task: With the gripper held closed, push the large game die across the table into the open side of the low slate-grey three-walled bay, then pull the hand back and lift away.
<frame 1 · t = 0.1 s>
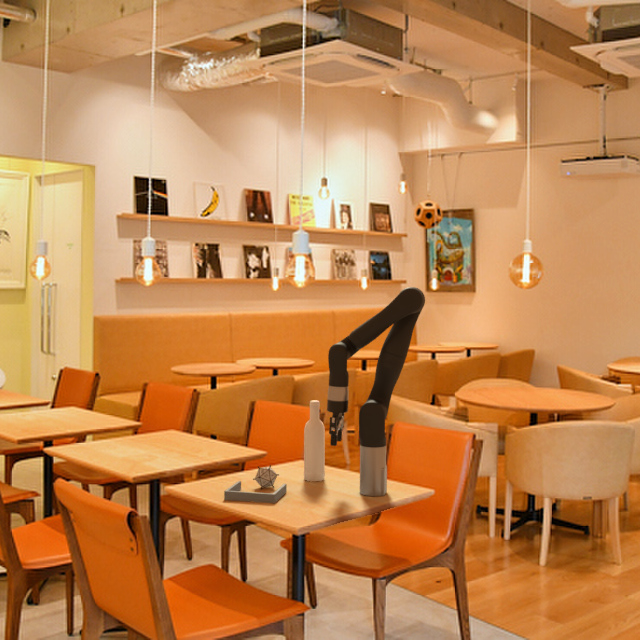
hand: (336, 443, 301), 17 cm above the table, tool pointing down, fingers open, 8 cm apart
game die: (265, 488, 305), on the table
bay: (255, 496, 294), on the table
bottle: (314, 480, 318), on the table
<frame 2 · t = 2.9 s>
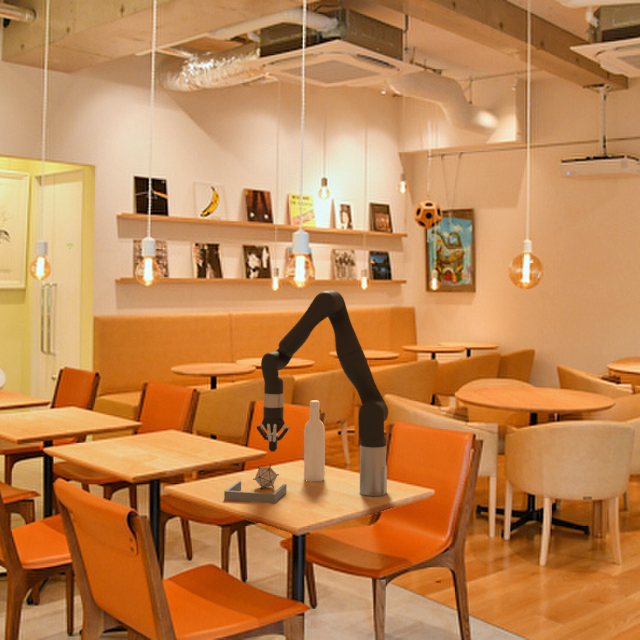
hand: (272, 451, 314), 12 cm above the table, tool pointing down, fingers closed
nothing on the table moved.
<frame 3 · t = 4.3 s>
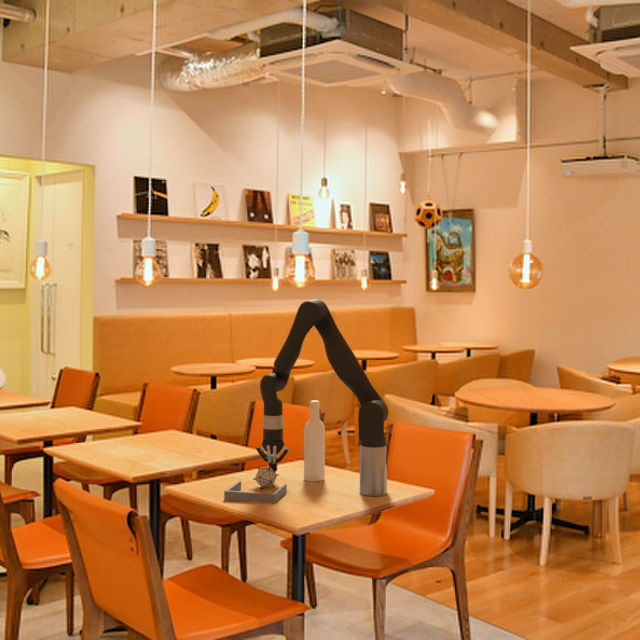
hand: (272, 472, 314), 3 cm above the table, tool pointing down, fingers closed
nothing on the table moved.
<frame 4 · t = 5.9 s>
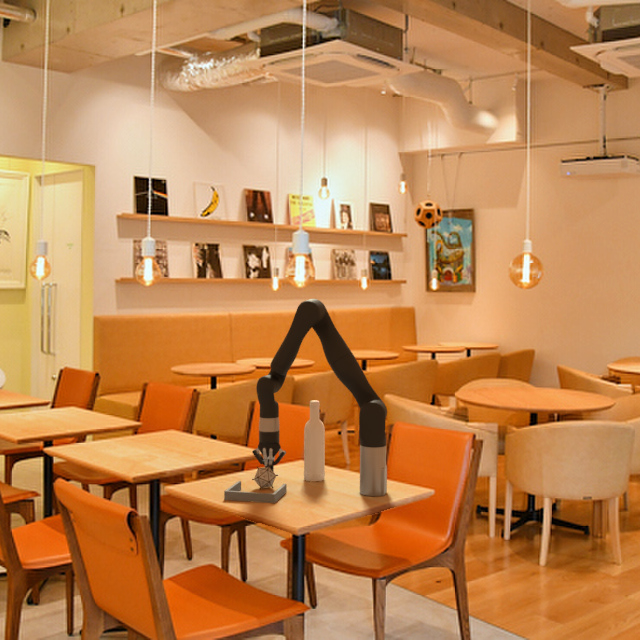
hand: (269, 475, 309), 4 cm above the table, tool pointing down, fingers closed
game die: (265, 488, 305), on the table, touching gripper
everything else where it was.
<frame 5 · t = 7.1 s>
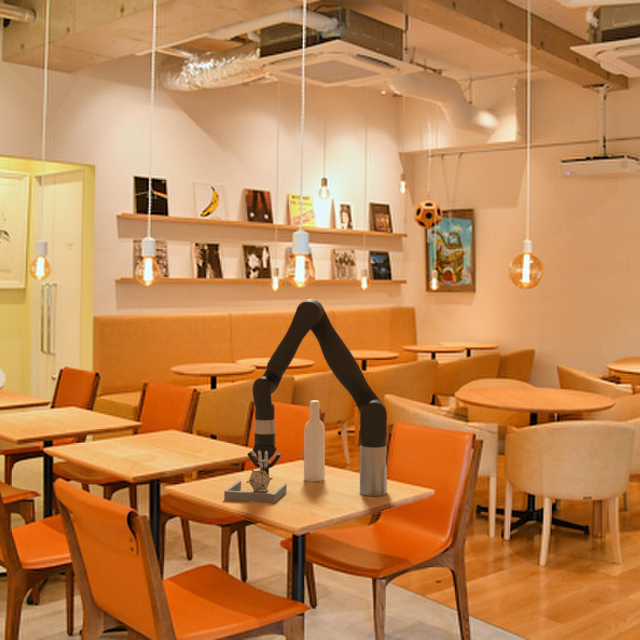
hand: (264, 478, 304), 4 cm above the table, tool pointing down, fingers closed
game die: (259, 491, 300), on the table, touching gripper
everything else where it was.
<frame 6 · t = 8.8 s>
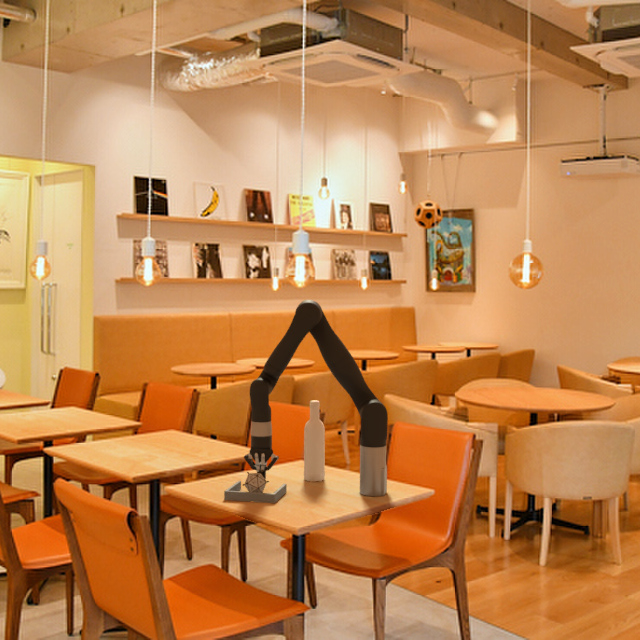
hand: (261, 481, 300), 4 cm above the table, tool pointing down, fingers closed
game die: (255, 495, 296), on the table, touching gripper
everything else where it was.
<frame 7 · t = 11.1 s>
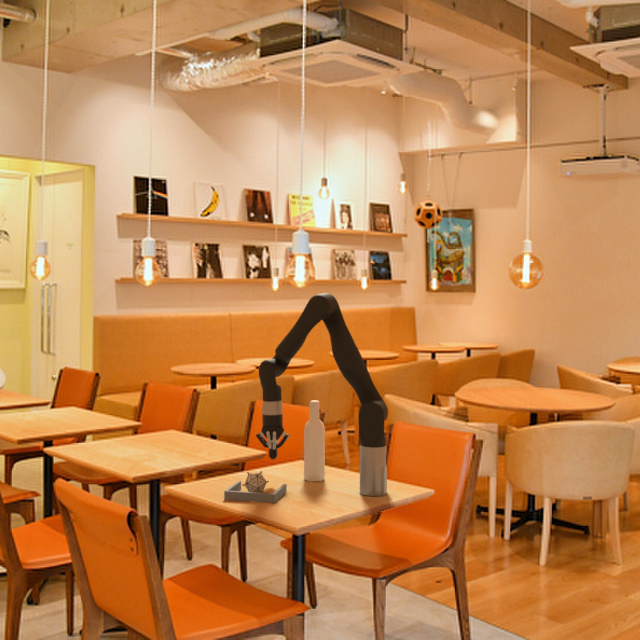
hand: (273, 458, 313), 9 cm above the table, tool pointing down, fingers closed
game die: (255, 495, 296), on the table
everything else where it was.
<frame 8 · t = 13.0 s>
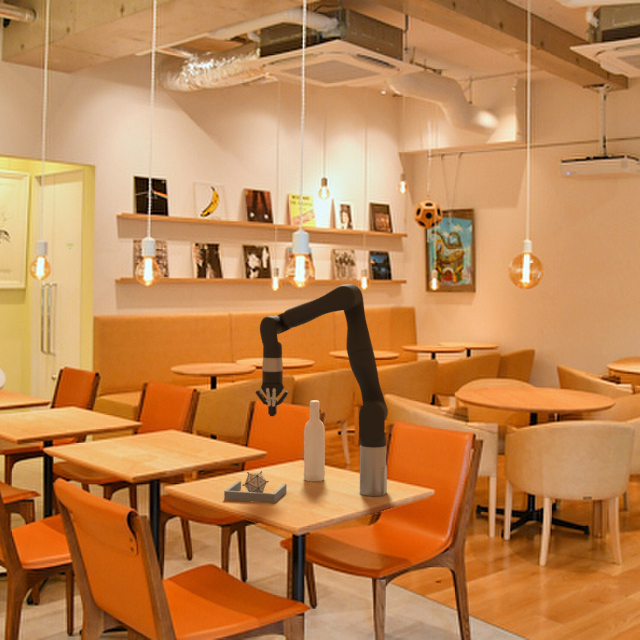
hand: (272, 416, 312), 25 cm above the table, tool pointing down, fingers closed
nothing on the table moved.
at the end: game die inside the target area (2.1 cm from its centre), on the table; game die moved 10.1 cm from its start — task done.
